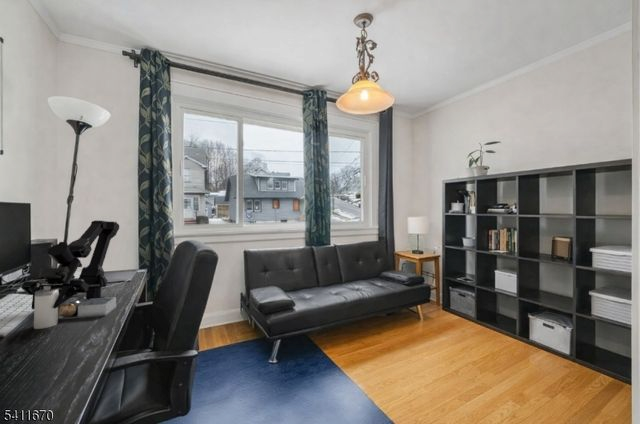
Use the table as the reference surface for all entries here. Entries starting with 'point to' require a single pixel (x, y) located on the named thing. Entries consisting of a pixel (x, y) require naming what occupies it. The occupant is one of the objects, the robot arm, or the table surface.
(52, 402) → the table surface
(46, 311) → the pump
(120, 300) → the table surface
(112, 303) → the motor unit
